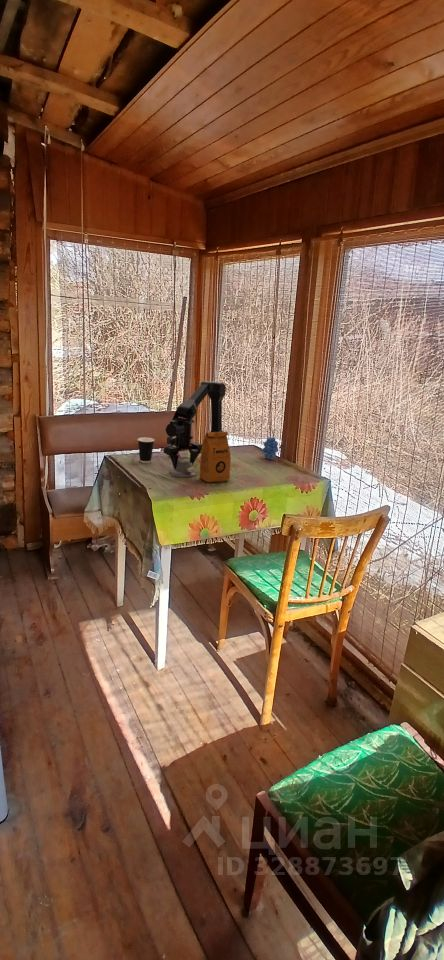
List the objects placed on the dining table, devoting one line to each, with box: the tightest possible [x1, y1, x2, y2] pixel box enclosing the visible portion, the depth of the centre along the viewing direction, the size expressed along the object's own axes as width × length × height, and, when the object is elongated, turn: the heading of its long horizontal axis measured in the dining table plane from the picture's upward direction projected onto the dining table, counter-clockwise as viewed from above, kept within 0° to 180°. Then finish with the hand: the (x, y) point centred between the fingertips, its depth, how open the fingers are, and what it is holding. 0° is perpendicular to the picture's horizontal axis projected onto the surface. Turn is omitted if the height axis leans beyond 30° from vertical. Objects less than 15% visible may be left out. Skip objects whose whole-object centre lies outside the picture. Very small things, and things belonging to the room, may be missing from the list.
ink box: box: [172, 436, 189, 459], centre depth 277 cm, size 8×5×12 cm, turn 123°
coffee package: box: [199, 431, 232, 483], centre depth 242 cm, size 10×12×22 cm
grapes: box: [262, 436, 279, 460], centre depth 284 cm, size 12×7×12 cm, turn 32°
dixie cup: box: [137, 437, 155, 464], centre depth 264 cm, size 8×8×11 cm
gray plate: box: [168, 468, 197, 479], centre depth 251 cm, size 12×12×1 cm
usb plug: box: [173, 458, 196, 475], centre depth 249 cm, size 4×12×5 cm, turn 42°
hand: (183, 467), depth 250 cm, fingers open, 9 cm apart
